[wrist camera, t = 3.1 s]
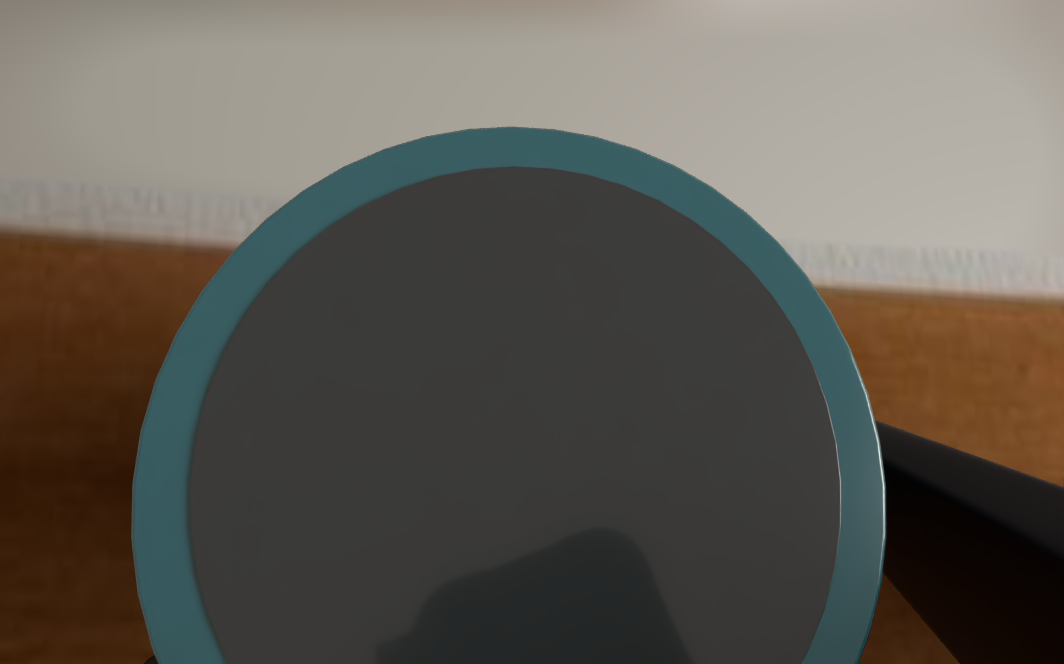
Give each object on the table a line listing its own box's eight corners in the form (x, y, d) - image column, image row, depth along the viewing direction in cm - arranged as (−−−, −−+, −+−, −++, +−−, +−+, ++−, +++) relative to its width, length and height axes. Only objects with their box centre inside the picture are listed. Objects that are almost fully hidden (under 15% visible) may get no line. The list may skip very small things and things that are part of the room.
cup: (621, 639, 15) (924, 923, 5) (325, 624, 14) (25, 910, 4) (629, 356, 16) (867, 161, 7) (366, 332, 16) (212, 82, 6)
